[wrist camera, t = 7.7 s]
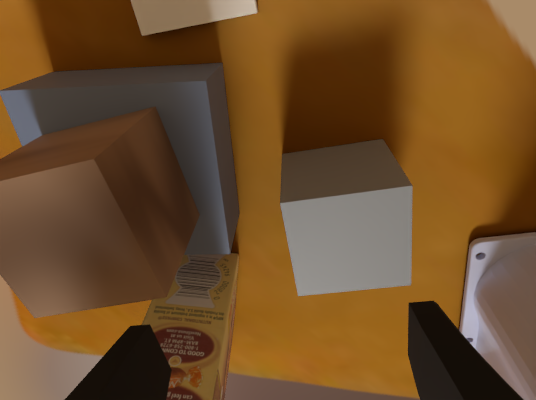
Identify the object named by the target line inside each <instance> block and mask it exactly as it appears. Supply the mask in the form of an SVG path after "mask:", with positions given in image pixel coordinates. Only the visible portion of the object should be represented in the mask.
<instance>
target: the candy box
mask: <svg viewBox="0 0 536 400" xmlns="http://www.w3.org/2000/svg"><path fill="white" fill-rule="evenodd" d="M238 263H239V255H238V254H237V253H230V254H213V255H184V256H183V258H182V261H181V263H180V266H179V268H178V271H177V273H176V275H175V278H174V280H173V283H172V285H171V288H170V290H169V293H168V295H167V297H165V298H159V299H152V301H151V304H150V306H149V308H148V311H147V313H146V316H145V318H144V320H143V323H142V325H149V324H150V325H151V328H152V330H153V332H154V334H155V336H156V338H157V340H158V342H159V344H160V346H161V348H162V350H163V353H164V355H165V357H166V359H167V361H168V363H169V365H170V367H171V369H172V371H171V377H170V382H169V388H168V393H167V398H166V400H224V398H225V390H226V383H227V382H226V381H227V375H228V368H229V360H230V352H231V344H232V335H233V325H234V315H235V302H236V289H237V275H238Z"/></svg>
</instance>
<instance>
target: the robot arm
mask: <svg viewBox="0 0 536 400" xmlns="http://www.w3.org/2000/svg"><path fill="white" fill-rule="evenodd" d="M481 252H482V253H481ZM478 253H481V254H480V255H477V254H478ZM408 356H409V360H410V364H411V368H412V372H413V376H414V379H415V383H416V387H417V390H418V394H419V397H420V400H536V232H532V233H522V234H513V235H504V236H494V237H485V238H478V239H475V240H473V241H472V242H471V243H470V246H469V253H468V262H467V270H466V279H465V287H464V295H463V304H462V312H461V321H460V329H459V330H458V329H457V327H456V326H455V325H454V324H453V323H452V321H451V320H450V319H449V318H448V317H447V315H446V314H445V313H444V312H443V310H442V309H441V308H440V307H439V305H438V304H437V303H436V302H434V301H425V302H413V303H409V321H408ZM171 371H172V369H171V367H170V365H169V363H168V361H167V359H166V357H165V355H164V353H163V350H162V348H161V346H160V344H159V342H158V340H157V338H156V336H155V334H154V332H153V330H152V328H151V325H150V324H149V325H137V326H130V327H129V328H128V329H127V330H126V331H125V333H124V334H123V335H122V336H121V337H120V338H119V339H118V340H117V341H116V343H115V344H114V345H113V346H112V347H111V348H110V349H109V351H108V352H107V353H106V354H105V355H104V356H103V357H102V359H101V360H100V361H99V362H98V363H97V364H96V365H95V367H94V368H93V369H92V370H91V371H90V372H89V373H88V374H87V376H86V377H85V378H84V379H83V380H82V381H81V382H80V383H79V384H78V386H77V387H76V388H75V389H74V390H73V391H72V392H71V393H70V395H69V396H68V397H67V398H66V399H65V400H166V398H167V393H168V388H169V382H170V377H171Z"/></svg>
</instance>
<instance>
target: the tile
mask: <svg viewBox="0 0 536 400" xmlns="http://www.w3.org/2000/svg"><path fill="white" fill-rule="evenodd" d="M131 3H132V6H133V10H134V13H135V16H136V19H137V22H138V25H139V28H140V31H141V35H142V36H144V35H149V34H154V33H159V32H164V31H169V30H174V29H179V28H184V27H189V26H194V25H199V24H204V23H209V22H214V21H219V20H224V19H230V18H235V17H240V16H245V15H250V14H255V13H258V7H257V1H256V0H131Z"/></svg>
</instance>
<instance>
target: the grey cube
mask: <svg viewBox="0 0 536 400" xmlns="http://www.w3.org/2000/svg"><path fill="white" fill-rule="evenodd" d="M280 205H281V210H282V215H283V220H284V225H285V230H286V236H287V241H288V246H289V251H290V256H291V261H292V267H293V272H294V277H295V282H296V287H297V292H298V296H304V295H315V294H325V293H335V292H345V291H355V290H365V289H376V288H386V287H396V286H406V285H411V254H412V184H411V183H410V181H409V179H408V178H407V176H406V175H405V173H404V172H403V170H402V168H401V167H400V165H399V164H398V162H397V160H396V159H395V157H394V156H393V154H392V153H391V151H390V149H389V148H388V146H387V145H386V143H385V141H384V140H383V139H379V140H372V141H365V142H359V143H352V144H345V145H339V146H332V147H326V148H319V149H312V150H306V151H299V152H292V153H286V154H282V171H281V196H280Z"/></svg>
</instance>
